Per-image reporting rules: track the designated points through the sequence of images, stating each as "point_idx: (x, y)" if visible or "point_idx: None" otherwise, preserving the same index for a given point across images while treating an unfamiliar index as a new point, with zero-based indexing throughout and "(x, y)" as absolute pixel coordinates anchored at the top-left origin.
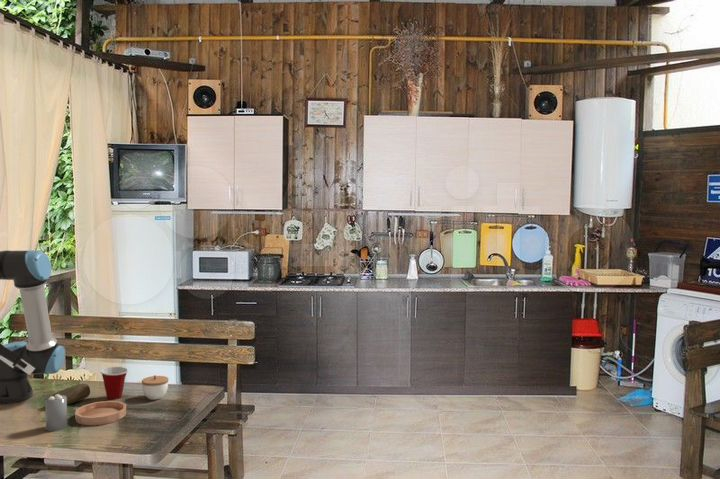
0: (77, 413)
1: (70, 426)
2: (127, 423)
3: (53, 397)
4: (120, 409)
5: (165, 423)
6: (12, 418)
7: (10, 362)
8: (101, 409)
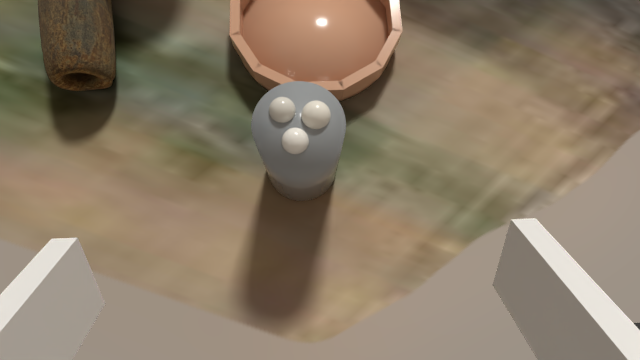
0: None
1: None
2: (436, 9)
3: (304, 132)
4: None
5: None
6: None
7: (57, 337)
8: (272, 7)
